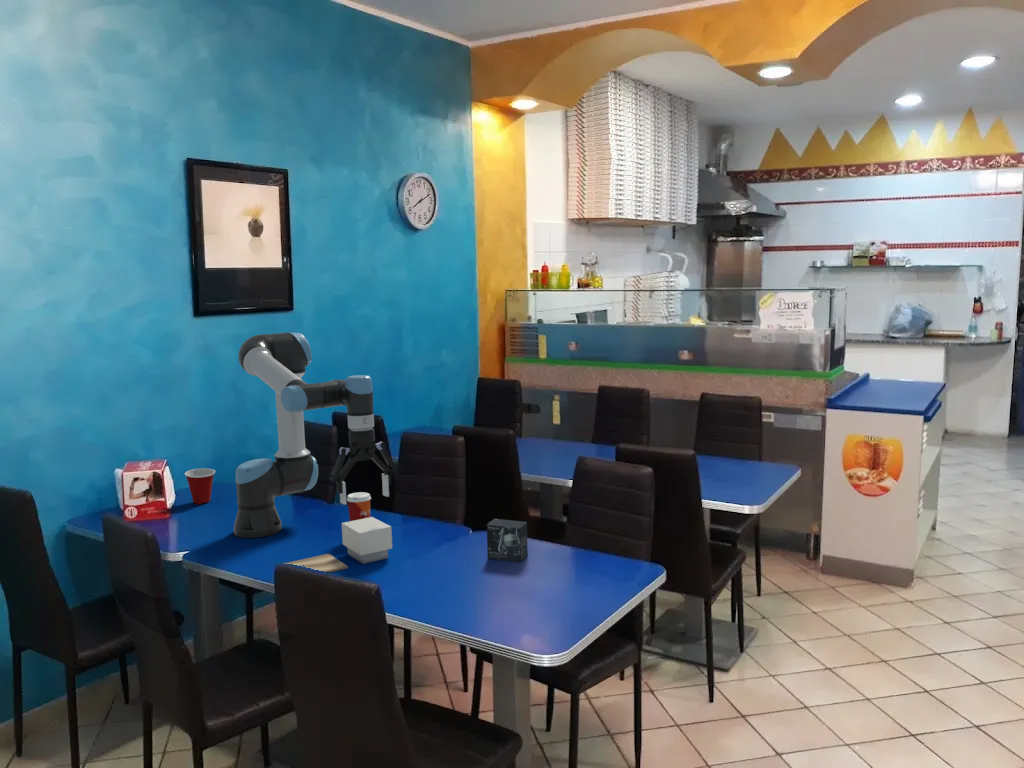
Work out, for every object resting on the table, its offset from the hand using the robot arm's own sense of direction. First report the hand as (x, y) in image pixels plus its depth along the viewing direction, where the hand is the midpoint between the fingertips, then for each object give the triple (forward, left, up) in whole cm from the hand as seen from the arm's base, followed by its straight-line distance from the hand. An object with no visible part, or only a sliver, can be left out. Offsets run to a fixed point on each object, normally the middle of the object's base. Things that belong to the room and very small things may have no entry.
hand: (365, 499), depth 244 cm
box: (+27, +32, -18) cm, 45 cm away
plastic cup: (-96, -23, -18) cm, 100 cm away
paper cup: (-18, +6, -18) cm, 26 cm away
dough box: (0, 0, -17) cm, 17 cm away
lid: (0, 0, -14) cm, 14 cm away
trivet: (-1, -16, -17) cm, 23 cm away
